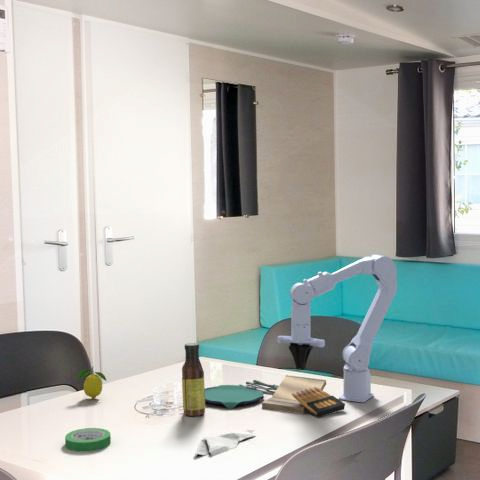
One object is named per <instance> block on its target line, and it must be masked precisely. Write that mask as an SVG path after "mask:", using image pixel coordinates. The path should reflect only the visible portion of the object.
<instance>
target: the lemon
mask: <svg viewBox="0 0 480 480" xmlns="http://www.w3.org/2000/svg"><path fill="white" fill-rule="evenodd" d="M90 372H91V374H90V375H88V374H89V373H90ZM86 375H88V376H87V377H86V378H85V380H84V383H83V392H84V394H85V395H86V396H87V397H90V398H91V399H92V400H95V399H96V398H97V397H98V396H99V395H101V394H102V391H103V381H102V380H104V381H106V382H107V378H106V376H105V374H104V373H102V372H100V371H99V372H98V371H94V365H93V366H92V368H91V369H83V370H82V371H80V372H79V374H78V376H77V379H80V378H83V377H85V376H86Z"/></svg>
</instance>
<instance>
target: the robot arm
mask: <svg viewBox="0 0 480 480" xmlns="http://www.w3.org/2000/svg"><path fill="white" fill-rule="evenodd" d="M397 272H398V269H397V266H396V264H395V263H394V260H393V259H392V258H390V257H389V256H387V255H386V256H384V255H382V254H381V253H373V254H371V255H369V256H364V257H362V258H360V259H358V260H356V261H355V262H352V263H350V264H348V265H346V266H344V267H342V268H340V269H338V270H336V271H334V272H332V273H330V272H328V271H324V272H322V271H318V272H317V275H315V276H313V277H311V278H308V279H307V278H304V279H303V282H296V283H295V284H293V285H292V287H291V288H290V291H289V296H290V298H291V299H292V300H291V309H290V310H291V313H290V314H291V315H290V317H291V318H290V319H291V321H290V323H291V324H290V325H291V332H290V333H291V335H278V336H277V344H290V345H288V350H289V351H290V353H291V356H292V358H293V361H294V365H295V369H296V370H302V371H303V370H305V369H306V368H307V367H306V366H307V362H308V358H309V356H310V354H311V351H312V350H313V347H318V348H324V347H325V346H326V344H325V343H326V341H325V340H326V339H320V338H314V337H311V333H312V332H311V331H312V330H311V325H312V324H311V318H312V317H311V315H312V314H311V302H312V300H313V298H315V299H316V298H317V297H320V296H321V295H324V294H326V293H328V292H330V291H333V290H334V289H335V287H336V285H337V284H338V283H341V282H343V281H345V280H348V279H351V278H353V277H355V276H358V275H362V274H363V275H368V276H369V275H370V276H373V278H374V280H375V283H376V284H377V287H378V289H377V291H376V293H375V296H374V297H373V299H372V302H371V304H370V306H369V307H368V310H367V312H366V314H365V317H364V319H363V320H362V323H361V324H360V327H359V328H358V329H359V330H358V331H357V333H356V335H355V336H354V337H353V338H352V339H351V341H350V342H349V343H348V344H347V345H346V346H345V347H344V348H343V350H342V359H343V361H345V363H344V366H343V394H341V396H339V397H338V399H339V400H340V401H343V400H344V401H348V402H349V401H350V402H358V403H365V402H366V401H367V400H369V399H370V398H372V397H373V396H374V393H372V390H371V389H372V386H371V385H372V383H371V382H372V381H371V380H372V375H371V372H370V370H369V368H368V367H369V365H370V360H371V359H370V356H371V353H372V351H373V349H372V348H373V342H374V339H375V337H376V335H377V333H378V332H379V329H380V328H381V325H382V323H383V321H384V319H385V316H386V315H387V313H388V311H389V309H390V306H391V304H392V302H393V299H394V298H395V296H396V295H397V291H398V279H397V278H398V277H397Z"/></svg>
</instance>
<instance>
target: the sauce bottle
mask: <svg viewBox="0 0 480 480" xmlns="http://www.w3.org/2000/svg"><path fill="white" fill-rule="evenodd" d="M199 349H200V344H199V343H198V342H187V343H185V344H184V351H185V361H184V363H183V365H182V367H181V374H182V376H181V383H182V384H181V385H182V387H181V388H182V408H183V414H184V415H186V416H189V417H199V416H203V415H204V414H205V412H206V401H205V389H206V388H205V371H204V369H203V365H202V363H201V360H200V353H199V352H200V351H199Z"/></svg>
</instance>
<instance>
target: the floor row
mask: <svg viewBox="0 0 480 480" xmlns="http://www.w3.org/2000/svg"><path fill="white" fill-rule="evenodd" d="M261 407H262V409H266V410H267V409H269V410H275V411H282V412H289V413H295V414H301V415H304V414H306V413H307V412H309V411H308V410H307V409H306V407H305V406H303V405H302V404H301V403H300V402H299V401H294V400H286V399H279V398H272V396H271V397H269V398H267V399H266V400H264V401H261Z"/></svg>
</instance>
